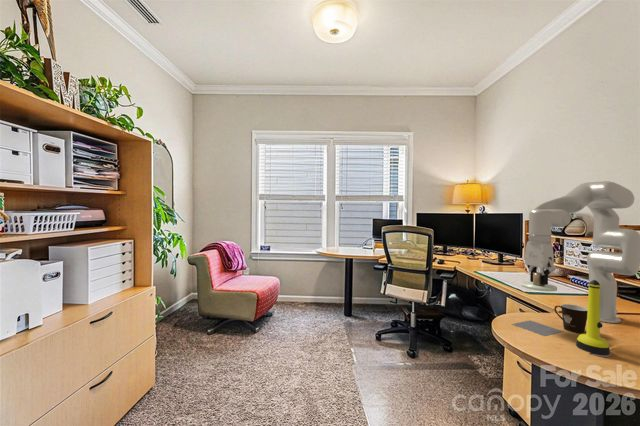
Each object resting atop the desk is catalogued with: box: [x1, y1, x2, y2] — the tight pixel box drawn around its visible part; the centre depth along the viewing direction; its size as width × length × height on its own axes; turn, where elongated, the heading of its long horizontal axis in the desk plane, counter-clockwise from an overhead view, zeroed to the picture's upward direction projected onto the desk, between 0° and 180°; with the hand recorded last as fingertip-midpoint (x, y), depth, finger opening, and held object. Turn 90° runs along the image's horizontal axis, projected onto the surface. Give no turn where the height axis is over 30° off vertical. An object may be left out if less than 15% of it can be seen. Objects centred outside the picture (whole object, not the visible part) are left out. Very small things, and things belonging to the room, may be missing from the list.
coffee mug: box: [554, 303, 588, 335], centre depth 124 cm, size 12×9×10 cm
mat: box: [511, 320, 565, 337], centre depth 124 cm, size 13×13×1 cm
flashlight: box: [575, 280, 611, 358], centre depth 105 cm, size 25×9×9 cm
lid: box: [520, 271, 558, 292], centre depth 124 cm, size 12×12×6 cm
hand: (538, 282), depth 124 cm, fingers closed on lid, 4 cm apart
